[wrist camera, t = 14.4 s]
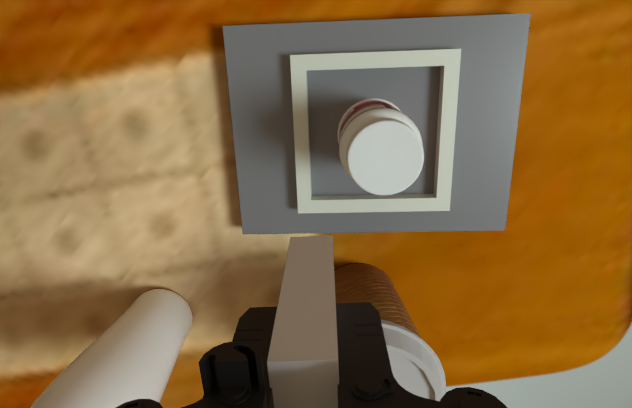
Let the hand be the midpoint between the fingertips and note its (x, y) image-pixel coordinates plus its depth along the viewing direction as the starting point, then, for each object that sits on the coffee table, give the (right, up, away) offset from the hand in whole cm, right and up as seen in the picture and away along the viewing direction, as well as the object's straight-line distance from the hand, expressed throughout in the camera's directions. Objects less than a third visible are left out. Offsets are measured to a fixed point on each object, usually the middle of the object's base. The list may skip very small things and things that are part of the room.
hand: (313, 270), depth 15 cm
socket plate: (+4, +8, +16) cm, 18 cm away
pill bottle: (+4, +7, +15) cm, 17 cm away
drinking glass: (-13, -7, +22) cm, 27 cm away
